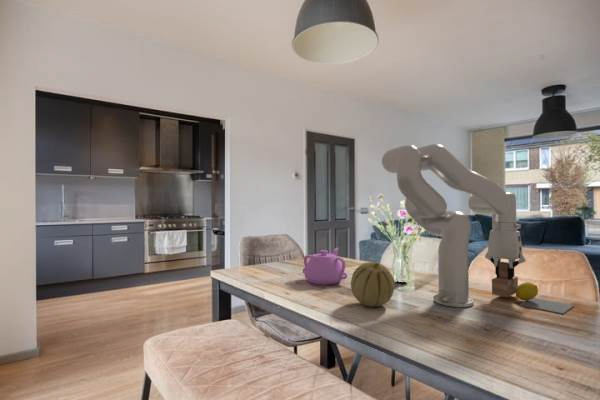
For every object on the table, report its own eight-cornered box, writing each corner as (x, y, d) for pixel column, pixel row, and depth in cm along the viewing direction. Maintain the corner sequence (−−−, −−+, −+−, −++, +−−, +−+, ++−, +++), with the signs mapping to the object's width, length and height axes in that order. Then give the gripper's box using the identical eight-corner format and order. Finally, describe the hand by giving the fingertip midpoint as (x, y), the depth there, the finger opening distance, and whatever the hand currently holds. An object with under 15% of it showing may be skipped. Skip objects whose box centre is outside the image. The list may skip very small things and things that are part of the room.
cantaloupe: (366, 296, 128) (366, 256, 128) (403, 305, 118) (402, 261, 118) (341, 305, 118) (341, 261, 118) (378, 316, 107) (378, 267, 107)
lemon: (523, 307, 120) (545, 296, 116) (511, 298, 120) (532, 287, 115) (521, 295, 125) (541, 284, 120) (509, 286, 125) (528, 275, 120)
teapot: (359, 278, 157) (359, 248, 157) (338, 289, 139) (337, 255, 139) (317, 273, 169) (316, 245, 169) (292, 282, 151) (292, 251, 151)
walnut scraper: (502, 289, 131) (502, 260, 131) (517, 291, 127) (517, 261, 127) (492, 294, 124) (491, 263, 124) (507, 297, 120) (507, 265, 120)
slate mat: (563, 314, 107) (562, 313, 107) (519, 305, 116) (519, 304, 116) (573, 306, 115) (573, 305, 115) (532, 298, 124) (531, 297, 124)
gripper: (533, 227, 121) (534, 280, 122) (484, 225, 134) (485, 272, 134) (526, 229, 117) (527, 283, 117) (476, 226, 129) (476, 275, 129)
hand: (504, 277), depth 125 cm, fingers closed on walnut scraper, 3 cm apart
